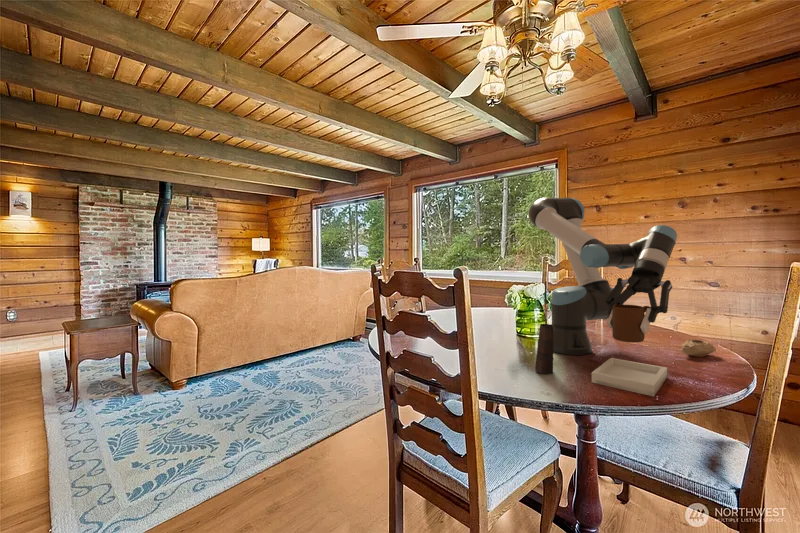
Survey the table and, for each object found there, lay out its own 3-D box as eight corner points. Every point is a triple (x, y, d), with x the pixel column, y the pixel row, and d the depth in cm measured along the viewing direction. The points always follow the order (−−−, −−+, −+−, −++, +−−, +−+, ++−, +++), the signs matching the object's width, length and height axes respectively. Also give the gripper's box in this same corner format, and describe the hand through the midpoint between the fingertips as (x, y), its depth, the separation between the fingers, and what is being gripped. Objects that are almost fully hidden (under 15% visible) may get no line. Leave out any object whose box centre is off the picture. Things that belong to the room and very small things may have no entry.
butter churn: (559, 380, 100) (559, 283, 99) (525, 374, 106) (524, 282, 105) (564, 370, 108) (563, 281, 107) (532, 366, 113) (531, 280, 112)
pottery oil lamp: (670, 354, 121) (667, 334, 123) (694, 362, 124) (691, 342, 127) (697, 351, 113) (694, 330, 116) (723, 360, 116) (719, 339, 119)
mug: (642, 334, 103) (641, 302, 103) (665, 340, 96) (665, 306, 95) (606, 337, 101) (605, 305, 101) (627, 344, 94) (627, 309, 93)
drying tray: (591, 382, 98) (591, 372, 98) (610, 366, 111) (610, 357, 111) (653, 396, 88) (653, 385, 88) (667, 377, 101) (667, 367, 101)
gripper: (695, 276, 99) (674, 342, 90) (617, 274, 116) (592, 329, 107) (689, 258, 95) (666, 325, 87) (609, 258, 112) (583, 314, 104)
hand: (626, 327), depth 97 cm, fingers closed on mug, 8 cm apart
